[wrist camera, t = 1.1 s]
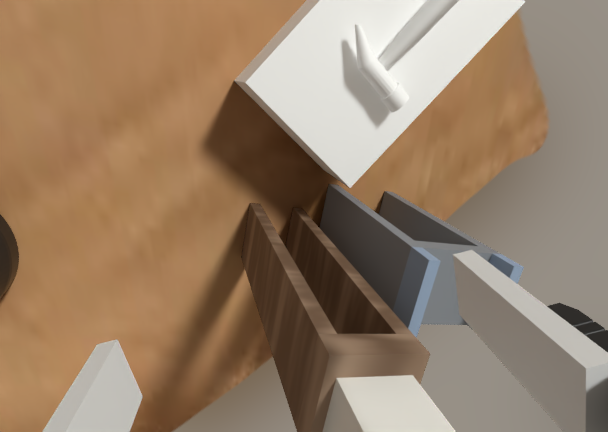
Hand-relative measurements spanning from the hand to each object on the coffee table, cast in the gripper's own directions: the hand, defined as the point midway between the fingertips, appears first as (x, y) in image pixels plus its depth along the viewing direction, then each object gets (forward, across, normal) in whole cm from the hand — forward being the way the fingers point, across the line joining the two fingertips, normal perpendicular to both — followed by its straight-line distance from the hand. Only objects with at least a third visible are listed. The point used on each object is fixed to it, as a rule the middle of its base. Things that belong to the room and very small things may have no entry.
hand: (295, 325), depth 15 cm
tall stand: (+33, -2, -8) cm, 34 cm away
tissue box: (+34, +13, +11) cm, 38 cm away
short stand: (+35, +9, -9) cm, 37 cm away
